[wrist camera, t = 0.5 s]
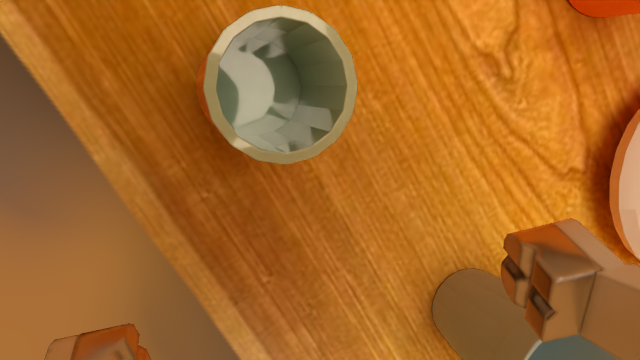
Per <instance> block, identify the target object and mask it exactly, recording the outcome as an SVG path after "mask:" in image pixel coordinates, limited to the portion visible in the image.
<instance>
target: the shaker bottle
mask: <svg viewBox="0 0 640 360" xmlns="http://www.w3.org/2000/svg"><path fill="white" fill-rule="evenodd" d="M568 1H569V2H570V3H571V4H572V6H573V7H574V8H575V9H577V10H578V11H579V12H581V13H583V14H585V15H587V16H591V17H595V18H600V17H611V16H619V15H628V14H636V13H640V0H568Z"/></svg>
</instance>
